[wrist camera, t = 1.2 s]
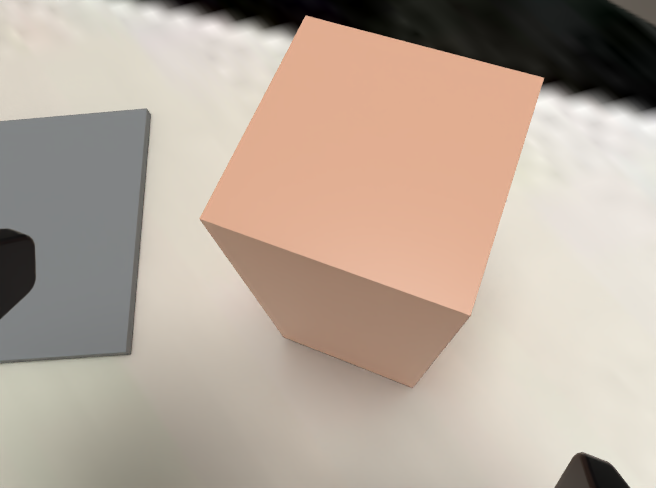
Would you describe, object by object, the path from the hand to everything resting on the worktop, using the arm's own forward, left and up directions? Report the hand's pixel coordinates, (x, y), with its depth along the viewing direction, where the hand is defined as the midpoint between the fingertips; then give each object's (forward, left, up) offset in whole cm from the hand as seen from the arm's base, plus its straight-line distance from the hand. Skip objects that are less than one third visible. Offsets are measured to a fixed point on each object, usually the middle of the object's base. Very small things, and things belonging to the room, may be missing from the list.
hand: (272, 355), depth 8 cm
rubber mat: (+8, +14, -13) cm, 21 cm away
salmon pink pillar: (+5, -2, -13) cm, 14 cm away
